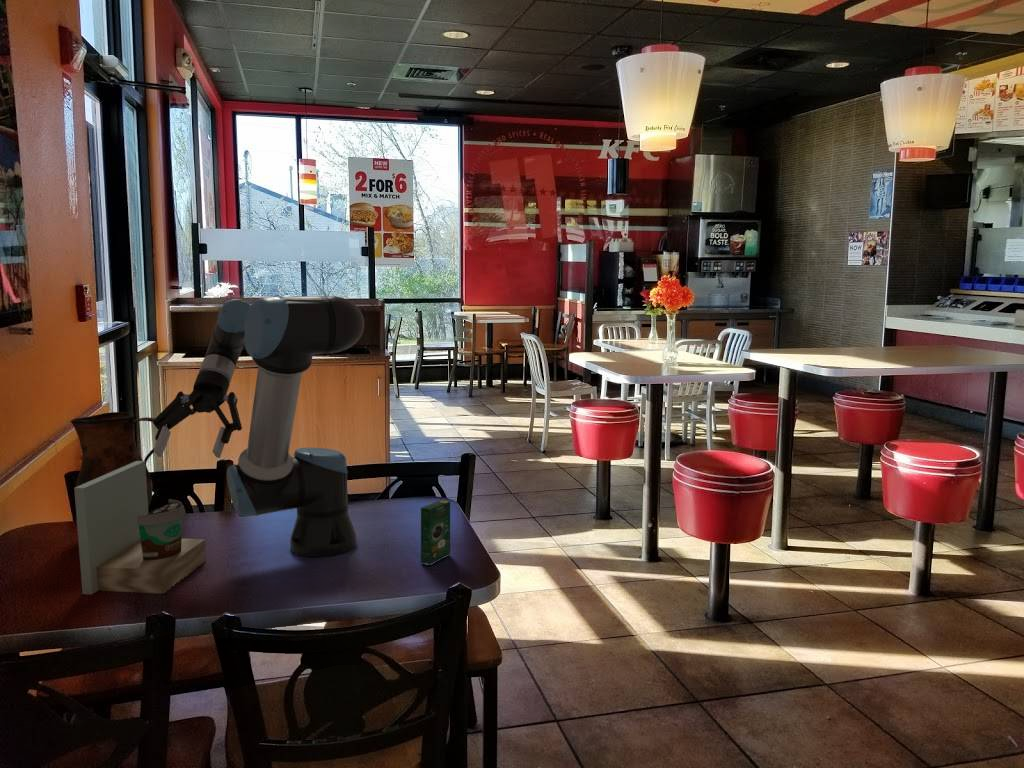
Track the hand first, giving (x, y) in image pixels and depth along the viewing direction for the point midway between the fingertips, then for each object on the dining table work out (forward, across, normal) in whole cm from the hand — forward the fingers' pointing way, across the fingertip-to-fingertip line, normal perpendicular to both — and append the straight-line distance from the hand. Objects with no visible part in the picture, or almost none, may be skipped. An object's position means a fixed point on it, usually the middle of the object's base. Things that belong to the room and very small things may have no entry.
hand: (186, 454), depth 177 cm
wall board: (+24, +11, -10) cm, 28 cm away
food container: (+21, 0, -6) cm, 22 cm away
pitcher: (+8, +23, -26) cm, 36 cm away
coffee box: (+14, -55, -21) cm, 60 cm away
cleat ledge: (+24, +3, -10) cm, 26 cm away
